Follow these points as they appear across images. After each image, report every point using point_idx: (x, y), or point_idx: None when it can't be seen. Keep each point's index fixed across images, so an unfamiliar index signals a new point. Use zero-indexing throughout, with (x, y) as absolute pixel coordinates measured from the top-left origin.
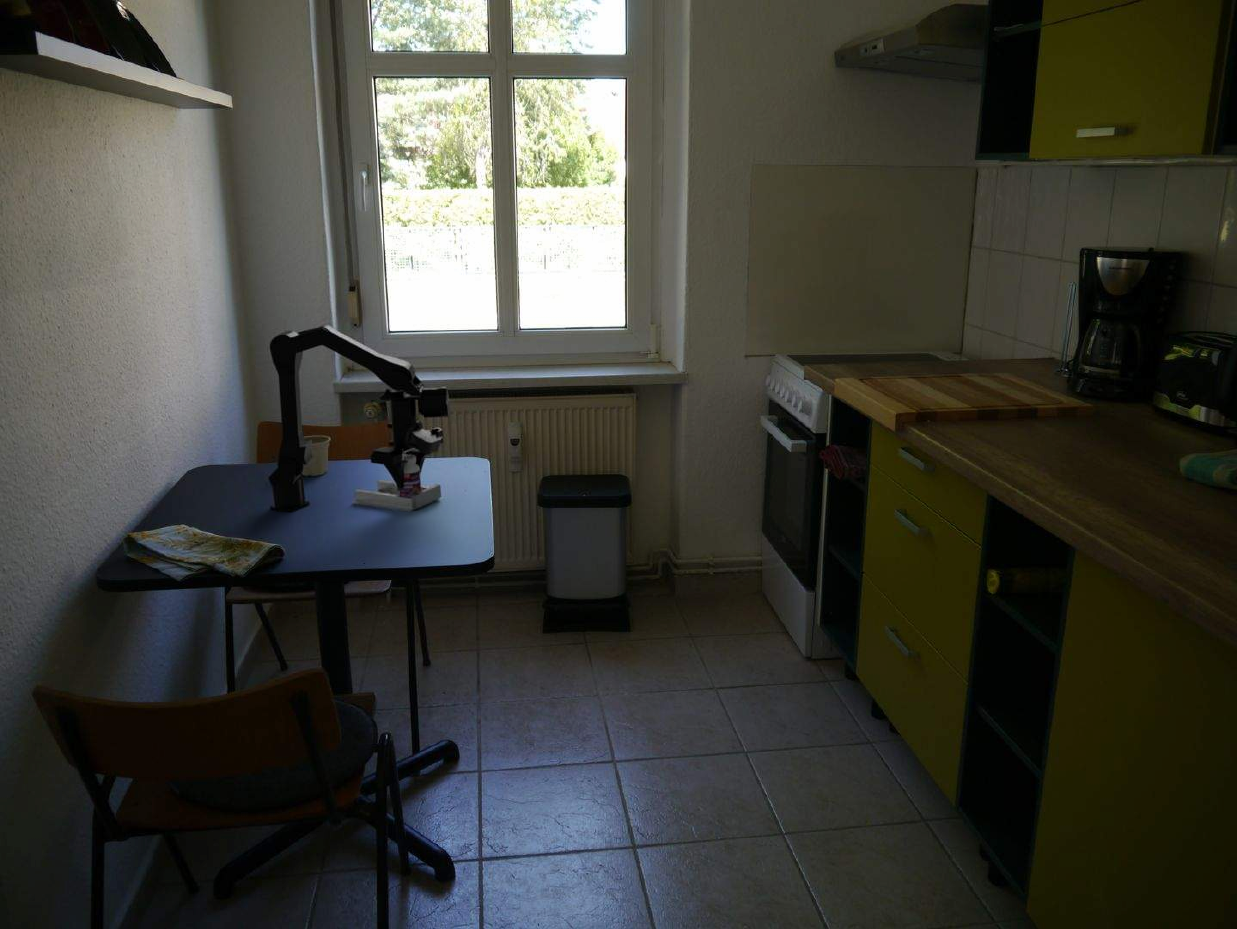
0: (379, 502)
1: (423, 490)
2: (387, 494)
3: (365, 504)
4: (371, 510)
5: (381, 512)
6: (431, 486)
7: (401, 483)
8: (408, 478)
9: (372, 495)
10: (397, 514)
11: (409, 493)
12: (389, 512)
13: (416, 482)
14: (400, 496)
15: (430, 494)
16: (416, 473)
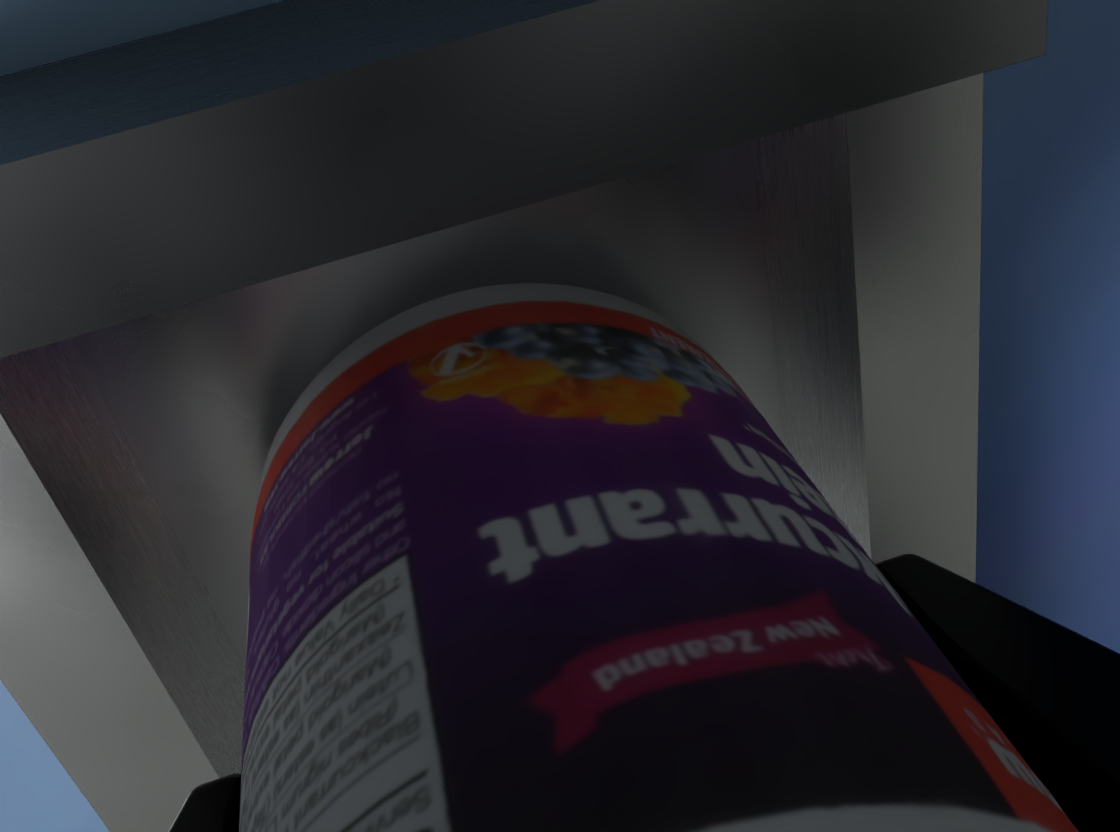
0: None
1: (496, 169)
2: None
3: None
4: (1064, 536)
5: (1096, 362)
6: (27, 325)
7: (1042, 624)
8: (937, 676)
9: None
10: (1106, 53)
11: (733, 391)
12: (1056, 265)
13: (608, 513)
14: (927, 407)
15: (263, 51)
16: (698, 764)
